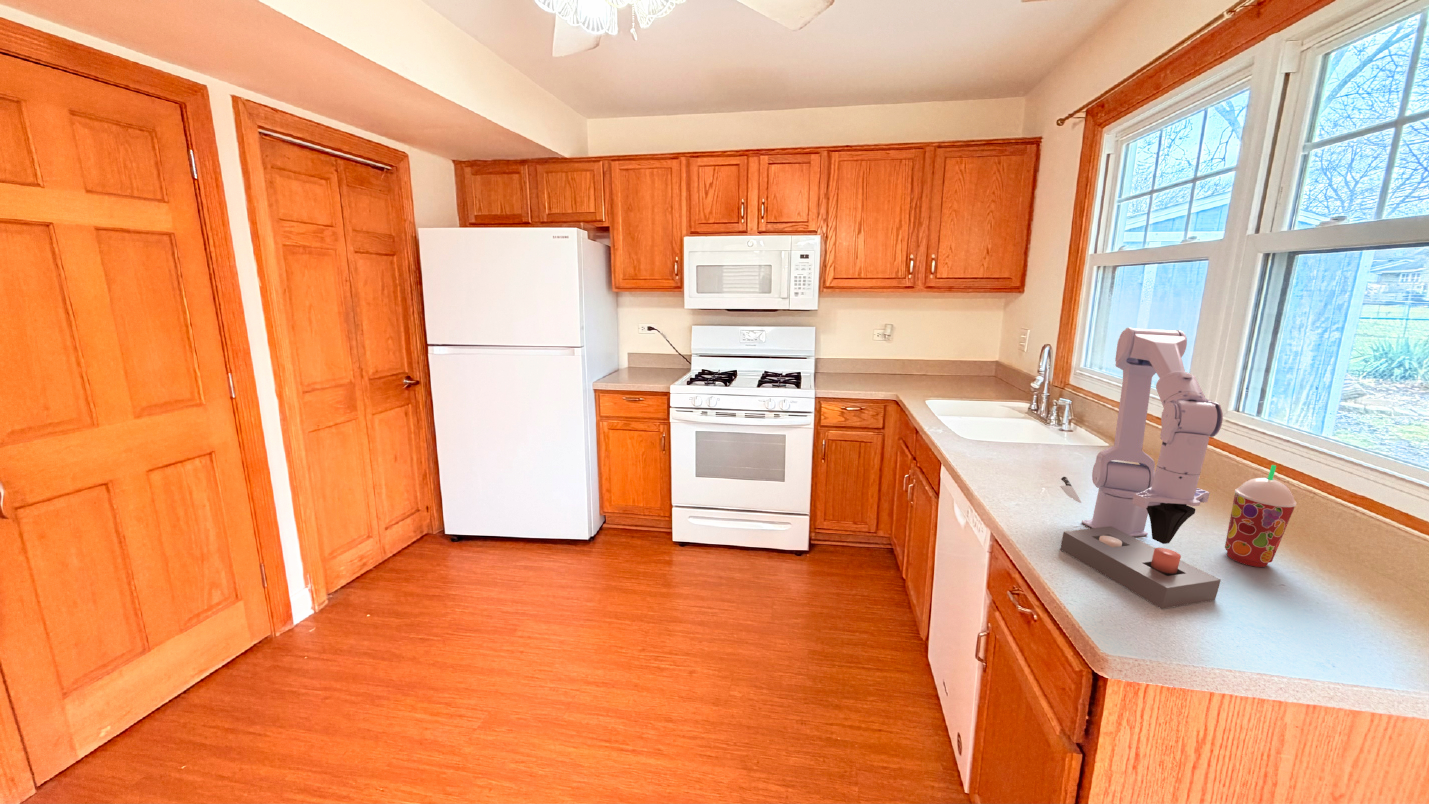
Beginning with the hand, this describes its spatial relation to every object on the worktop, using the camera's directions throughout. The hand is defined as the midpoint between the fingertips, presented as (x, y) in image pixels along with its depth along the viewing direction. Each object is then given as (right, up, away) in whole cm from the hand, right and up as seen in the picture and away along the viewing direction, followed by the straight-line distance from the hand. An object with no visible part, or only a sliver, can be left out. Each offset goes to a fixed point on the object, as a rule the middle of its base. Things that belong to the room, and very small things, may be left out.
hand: (1160, 540), depth 94 cm
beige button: (-2, -5, +10) cm, 11 cm away
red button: (0, -5, 0) cm, 5 cm away
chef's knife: (+13, +1, +44) cm, 46 cm away
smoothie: (+26, -7, +11) cm, 30 cm away
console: (-1, -7, +5) cm, 9 cm away
